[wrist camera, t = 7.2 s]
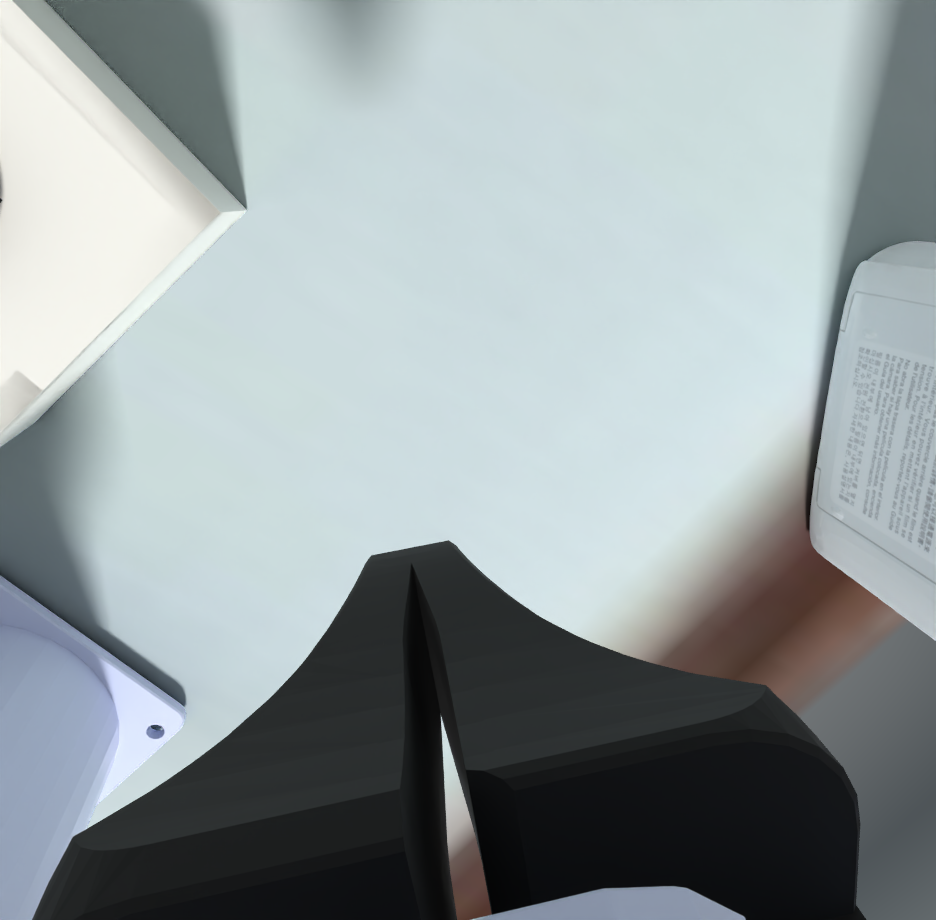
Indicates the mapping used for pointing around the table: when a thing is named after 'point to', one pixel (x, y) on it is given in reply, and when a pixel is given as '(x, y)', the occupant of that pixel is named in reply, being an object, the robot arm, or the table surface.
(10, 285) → the white square block
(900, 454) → the white rounded slab
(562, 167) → the table surface
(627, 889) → the robot arm
